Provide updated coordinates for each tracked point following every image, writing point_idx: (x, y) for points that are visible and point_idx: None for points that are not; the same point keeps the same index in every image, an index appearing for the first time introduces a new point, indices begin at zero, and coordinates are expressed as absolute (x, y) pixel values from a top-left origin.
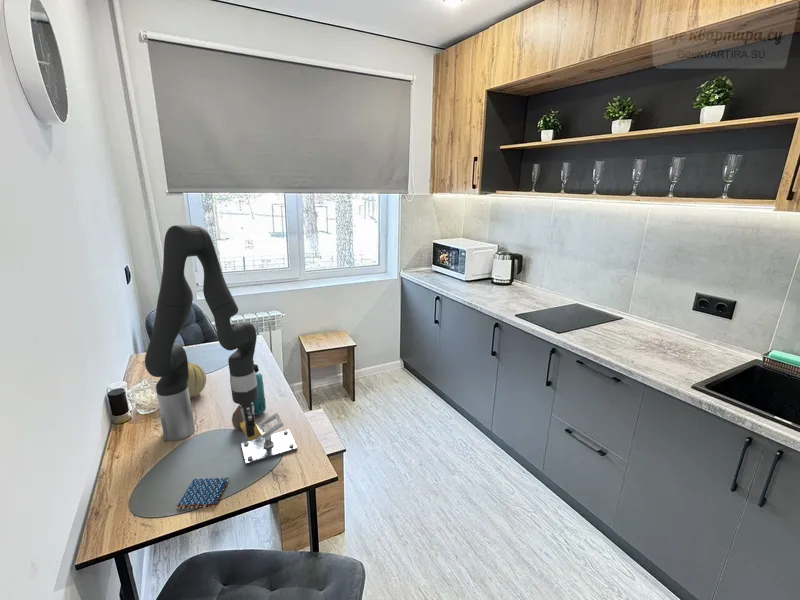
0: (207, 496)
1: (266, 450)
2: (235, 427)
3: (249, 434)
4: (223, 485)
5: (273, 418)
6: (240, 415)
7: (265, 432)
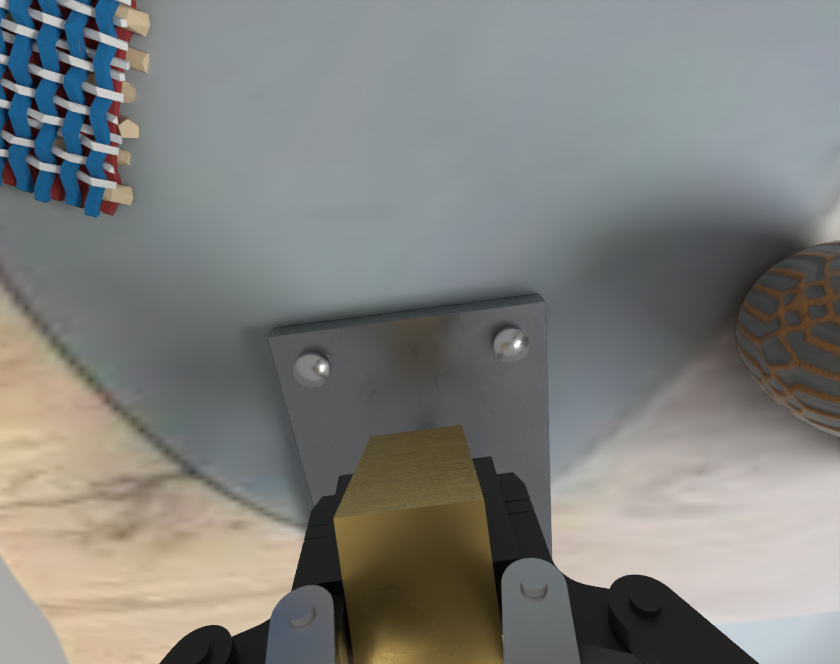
0: None
1: None
2: (792, 262)
3: (310, 525)
4: (19, 179)
5: None
6: None
7: None
